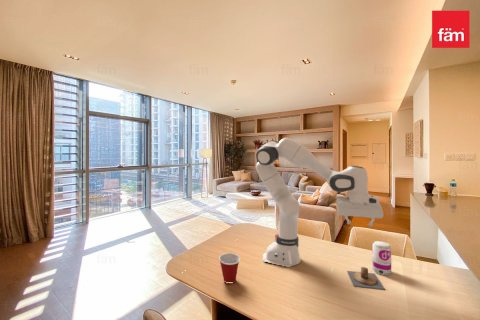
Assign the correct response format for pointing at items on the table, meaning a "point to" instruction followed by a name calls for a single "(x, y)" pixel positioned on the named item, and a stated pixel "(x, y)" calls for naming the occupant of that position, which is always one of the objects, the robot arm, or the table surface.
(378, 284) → the mat
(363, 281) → the lid
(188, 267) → the table surface
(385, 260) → the supplement can
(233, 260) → the plastic cup
